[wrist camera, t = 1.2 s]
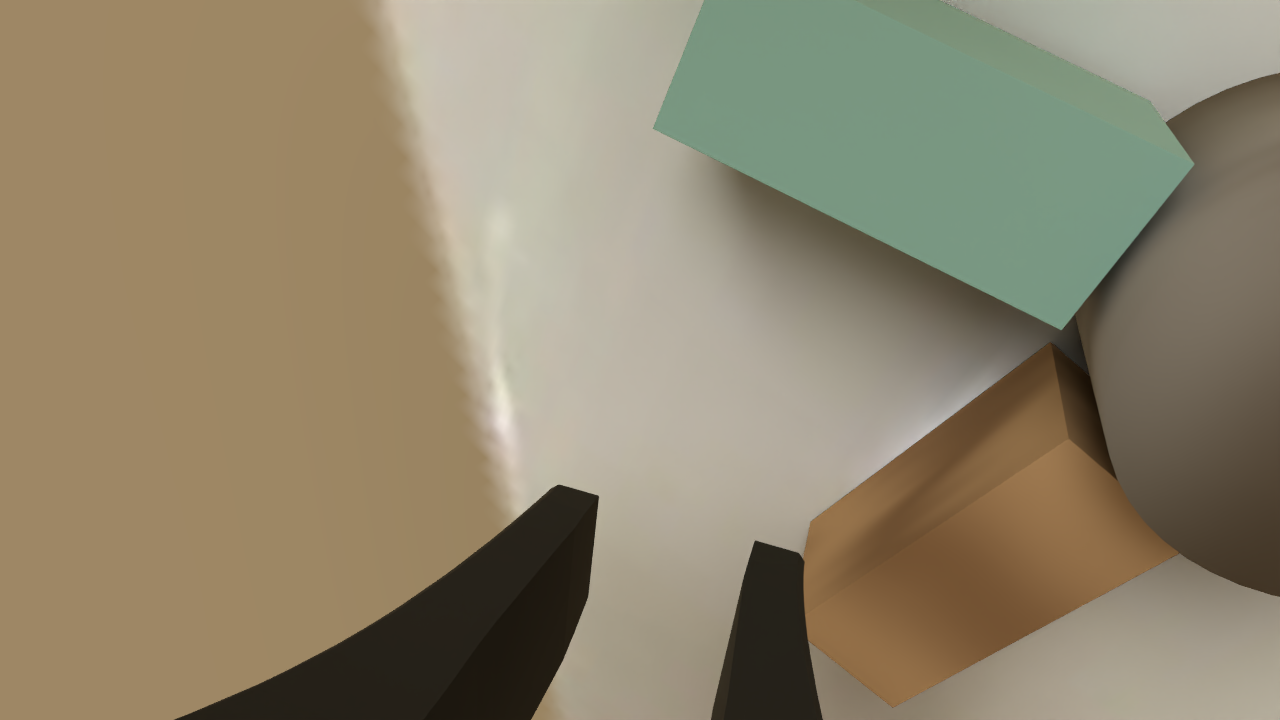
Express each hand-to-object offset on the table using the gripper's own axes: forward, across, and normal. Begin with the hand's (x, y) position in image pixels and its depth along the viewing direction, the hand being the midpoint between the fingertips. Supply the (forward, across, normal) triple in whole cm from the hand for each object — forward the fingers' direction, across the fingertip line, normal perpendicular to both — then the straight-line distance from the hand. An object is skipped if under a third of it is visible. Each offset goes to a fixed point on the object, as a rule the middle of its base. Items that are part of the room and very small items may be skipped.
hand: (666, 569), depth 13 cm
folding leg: (+8, -2, -5) cm, 10 cm away
